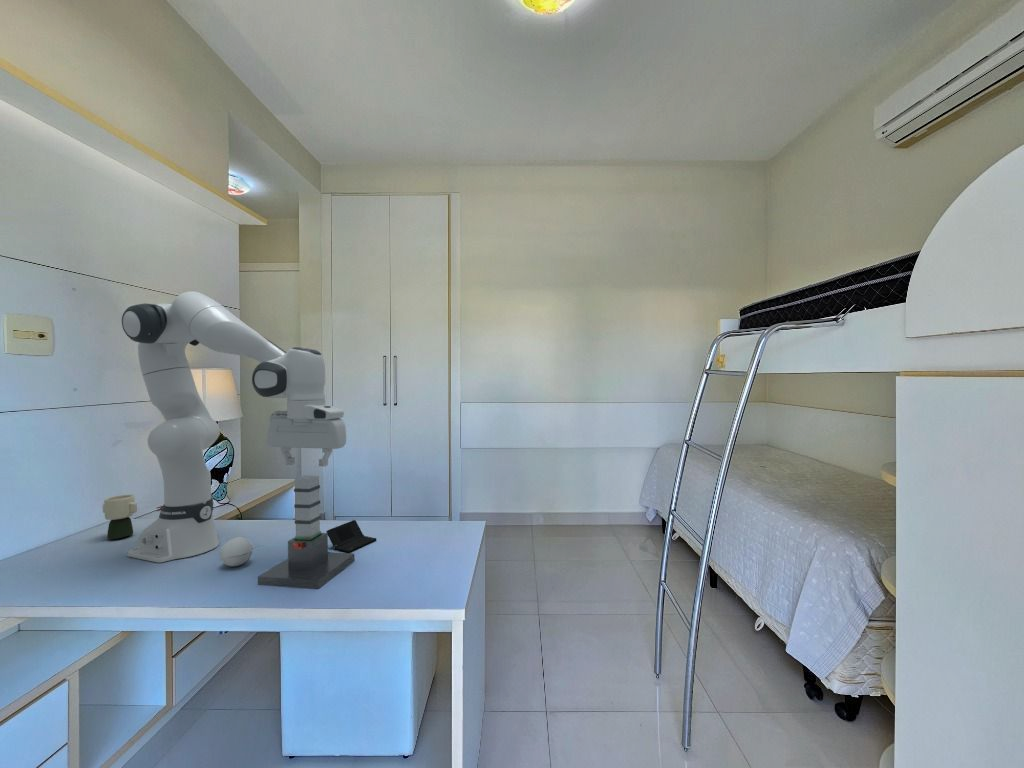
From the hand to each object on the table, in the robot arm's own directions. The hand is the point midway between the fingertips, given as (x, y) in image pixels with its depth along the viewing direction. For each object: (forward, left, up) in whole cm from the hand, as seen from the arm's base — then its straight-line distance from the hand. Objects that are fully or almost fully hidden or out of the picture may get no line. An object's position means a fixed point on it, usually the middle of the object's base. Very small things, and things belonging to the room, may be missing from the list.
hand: (306, 465), depth 111 cm
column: (0, 0, -19) cm, 19 cm away
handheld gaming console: (+1, +19, -28) cm, 34 cm away
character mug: (-77, +15, -28) cm, 83 cm away
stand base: (0, 0, -27) cm, 27 cm away
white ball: (-21, +2, -28) cm, 35 cm away
